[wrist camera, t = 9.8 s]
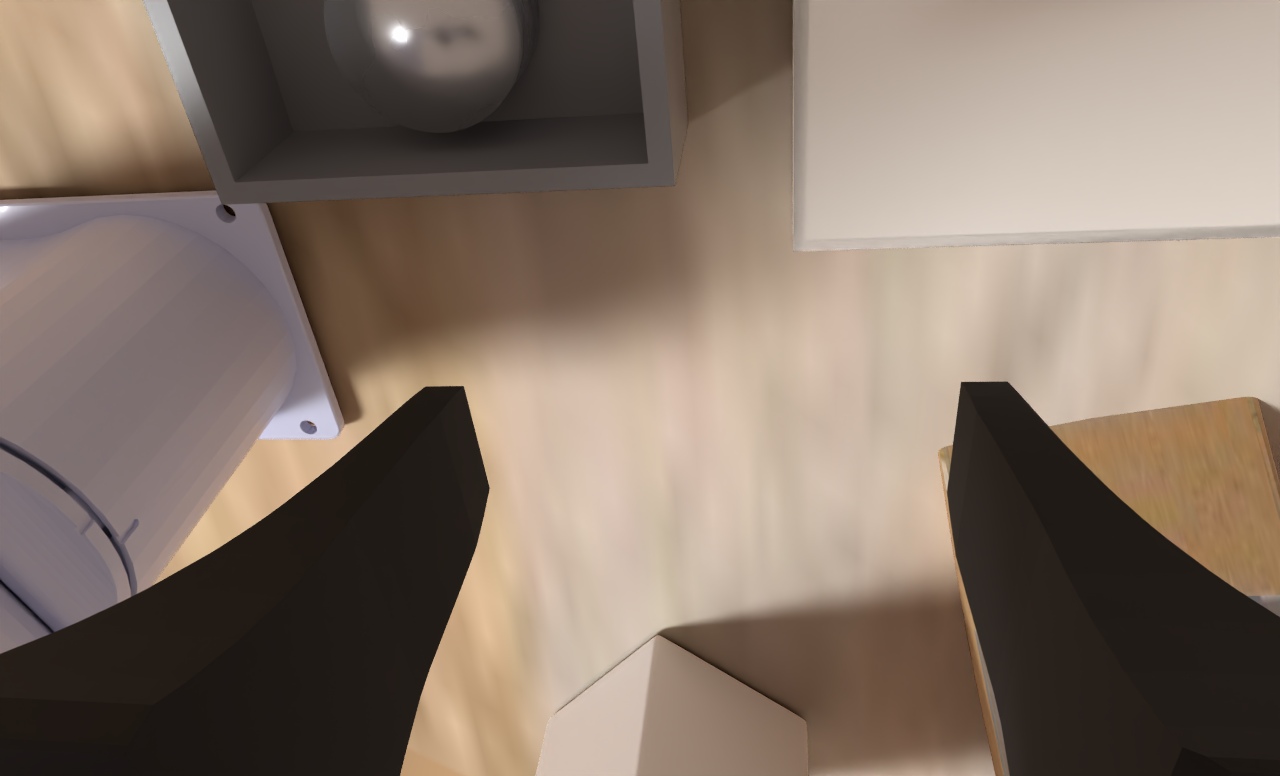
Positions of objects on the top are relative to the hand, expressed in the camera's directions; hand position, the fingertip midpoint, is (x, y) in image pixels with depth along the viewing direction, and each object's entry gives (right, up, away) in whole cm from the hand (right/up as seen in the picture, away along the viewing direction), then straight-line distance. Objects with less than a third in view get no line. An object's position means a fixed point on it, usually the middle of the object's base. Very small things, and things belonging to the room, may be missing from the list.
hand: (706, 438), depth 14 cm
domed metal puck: (-5, +9, +7) cm, 12 cm away
